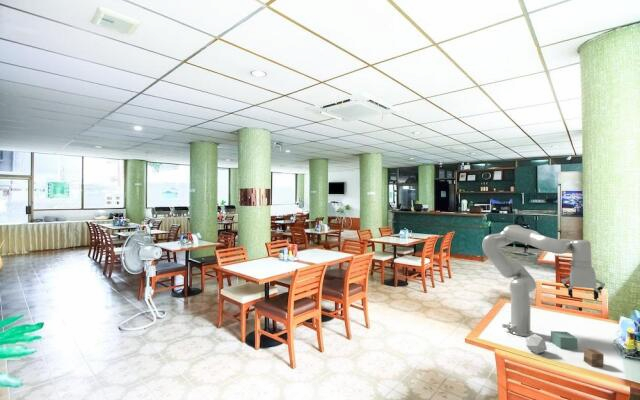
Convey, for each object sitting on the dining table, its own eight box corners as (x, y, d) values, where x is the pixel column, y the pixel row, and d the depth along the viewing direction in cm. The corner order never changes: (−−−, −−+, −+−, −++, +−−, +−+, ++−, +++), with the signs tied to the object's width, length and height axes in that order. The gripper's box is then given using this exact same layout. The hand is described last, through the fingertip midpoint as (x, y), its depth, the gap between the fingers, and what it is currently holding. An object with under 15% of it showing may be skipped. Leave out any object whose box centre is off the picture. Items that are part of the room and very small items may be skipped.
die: (531, 347, 166) (520, 332, 165) (549, 343, 161) (538, 327, 160) (533, 359, 158) (521, 344, 158) (552, 356, 154) (540, 339, 153)
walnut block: (591, 366, 145) (591, 353, 145) (583, 361, 150) (583, 348, 150) (603, 367, 145) (603, 354, 145) (595, 361, 150) (595, 349, 150)
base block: (560, 348, 163) (560, 337, 163) (550, 342, 171) (550, 331, 171) (577, 349, 162) (577, 338, 162) (566, 342, 170) (566, 331, 170)
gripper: (561, 264, 162) (563, 297, 161) (606, 267, 153) (607, 302, 152) (559, 262, 168) (560, 294, 168) (602, 264, 159) (603, 298, 159)
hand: (583, 298), depth 160 cm, fingers open, 9 cm apart
